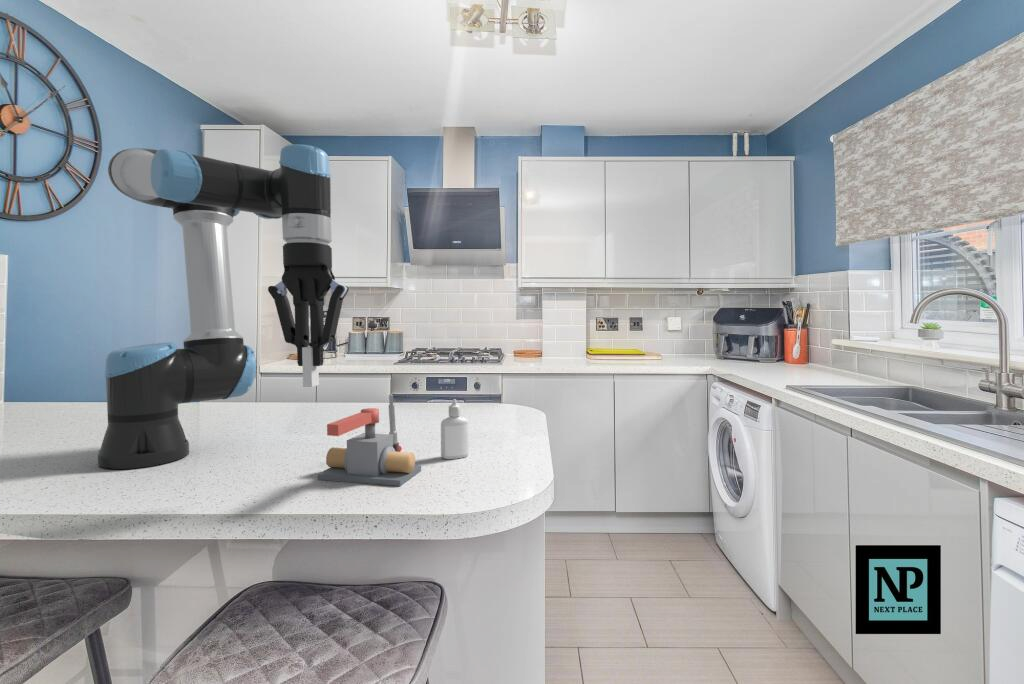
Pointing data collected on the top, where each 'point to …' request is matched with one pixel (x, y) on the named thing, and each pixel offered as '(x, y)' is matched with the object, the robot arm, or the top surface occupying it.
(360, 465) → the valve base
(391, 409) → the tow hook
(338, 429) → the lever
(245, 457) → the top surface
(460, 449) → the eye dropper bottle
